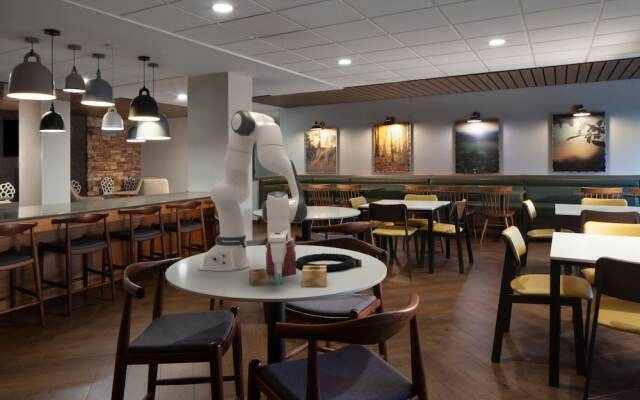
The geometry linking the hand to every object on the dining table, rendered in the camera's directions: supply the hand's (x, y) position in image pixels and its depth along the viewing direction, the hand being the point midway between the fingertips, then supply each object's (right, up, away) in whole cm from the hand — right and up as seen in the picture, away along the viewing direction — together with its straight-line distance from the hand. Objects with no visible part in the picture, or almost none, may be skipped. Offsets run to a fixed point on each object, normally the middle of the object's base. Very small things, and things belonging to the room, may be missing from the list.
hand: (280, 269), depth 177 cm
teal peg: (-1, -5, 0) cm, 5 cm away
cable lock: (+19, -3, +31) cm, 36 cm away
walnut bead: (-9, -6, +1) cm, 10 cm away
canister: (-1, -4, +19) cm, 20 cm away
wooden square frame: (+13, -5, 0) cm, 14 cm away
